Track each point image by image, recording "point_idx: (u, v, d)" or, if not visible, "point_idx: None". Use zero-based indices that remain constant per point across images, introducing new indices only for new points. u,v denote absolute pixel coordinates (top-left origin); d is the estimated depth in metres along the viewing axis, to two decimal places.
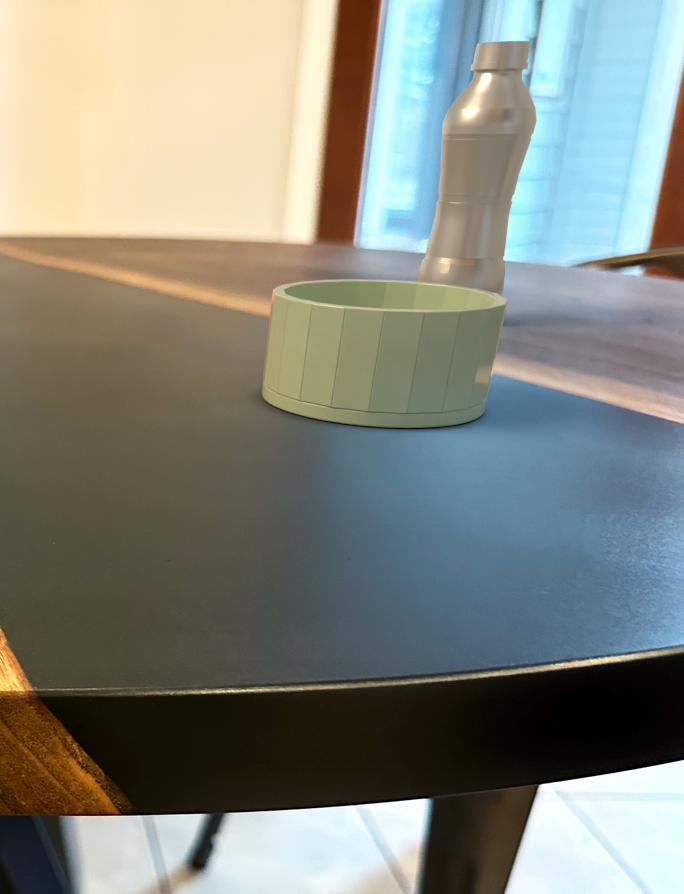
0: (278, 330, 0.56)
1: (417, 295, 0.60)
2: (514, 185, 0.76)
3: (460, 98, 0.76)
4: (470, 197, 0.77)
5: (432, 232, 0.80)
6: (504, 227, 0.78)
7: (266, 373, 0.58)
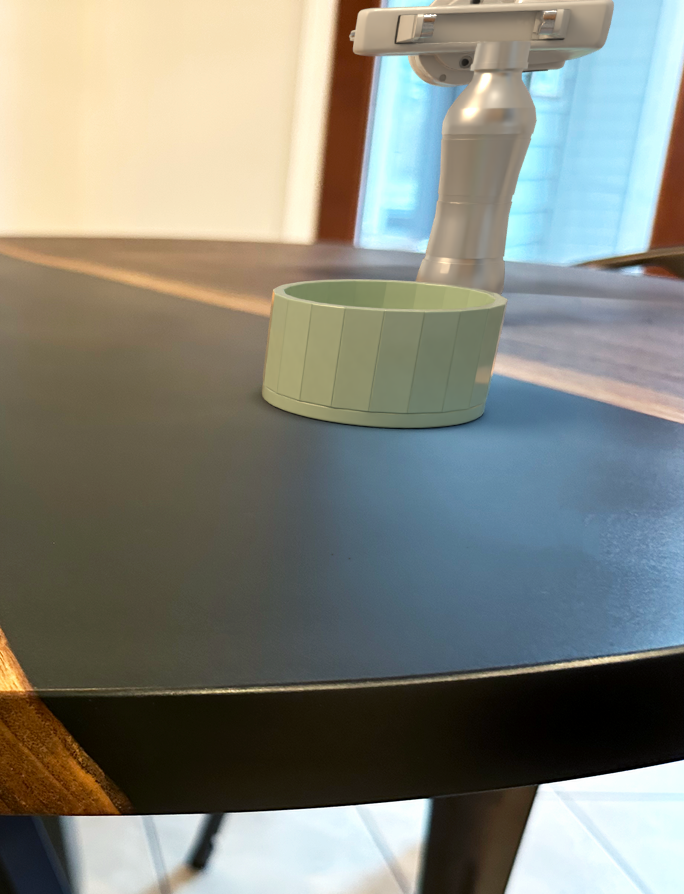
0: (278, 330, 0.56)
1: (417, 295, 0.60)
2: (514, 185, 0.76)
3: (460, 98, 0.76)
4: (470, 197, 0.77)
5: (432, 232, 0.80)
6: (504, 227, 0.78)
7: (266, 373, 0.58)
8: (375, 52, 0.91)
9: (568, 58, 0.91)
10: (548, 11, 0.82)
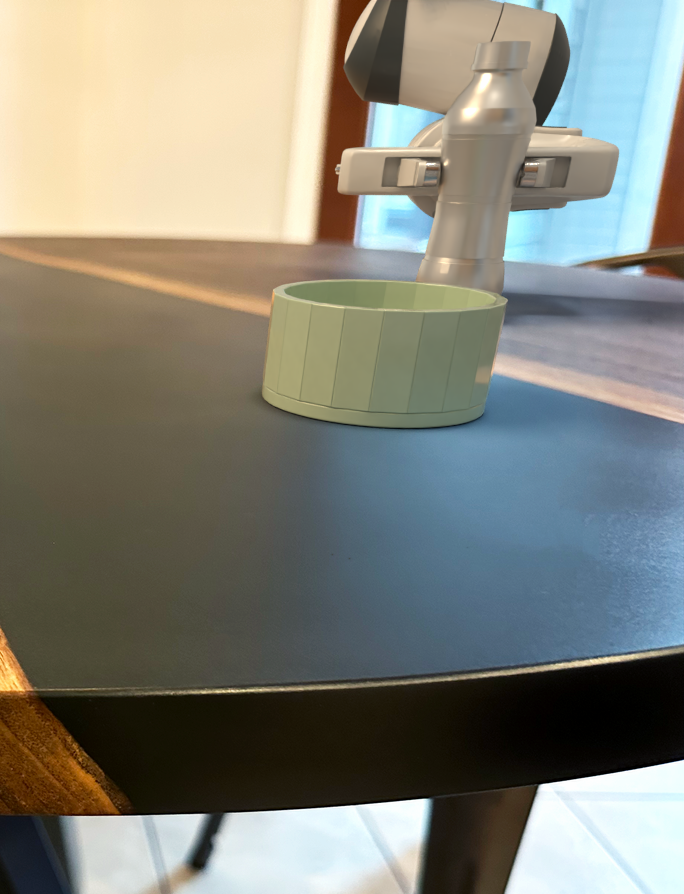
0: (278, 330, 0.56)
1: (417, 295, 0.60)
2: (514, 185, 0.76)
3: (460, 98, 0.76)
4: (470, 197, 0.77)
5: (432, 232, 0.80)
6: (504, 227, 0.78)
7: (266, 373, 0.58)
8: (361, 194, 0.85)
9: (570, 200, 0.84)
10: (529, 164, 0.76)
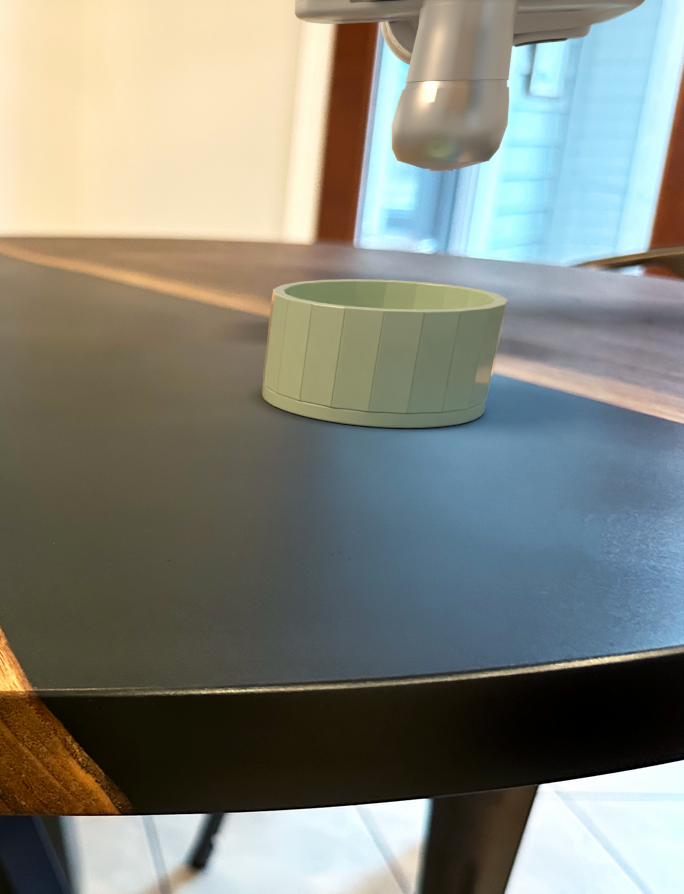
0: (278, 330, 0.56)
1: (417, 295, 0.60)
2: None
3: None
4: None
5: (414, 51, 0.61)
6: (508, 37, 0.59)
7: (266, 373, 0.58)
8: (324, 15, 0.66)
9: (595, 21, 0.65)
10: None
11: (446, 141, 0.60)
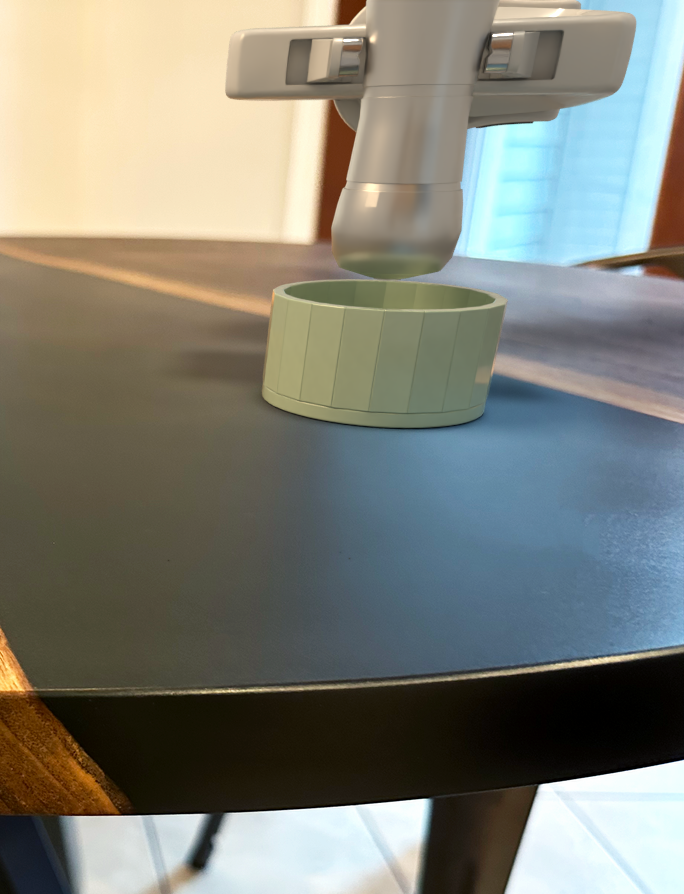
0: (278, 330, 0.56)
1: (417, 295, 0.60)
2: (476, 69, 0.50)
3: None
4: (408, 87, 0.50)
5: (355, 146, 0.53)
6: (461, 135, 0.51)
7: (266, 373, 0.58)
8: (258, 97, 0.58)
9: (563, 106, 0.58)
10: (499, 35, 0.49)
11: (391, 252, 0.52)
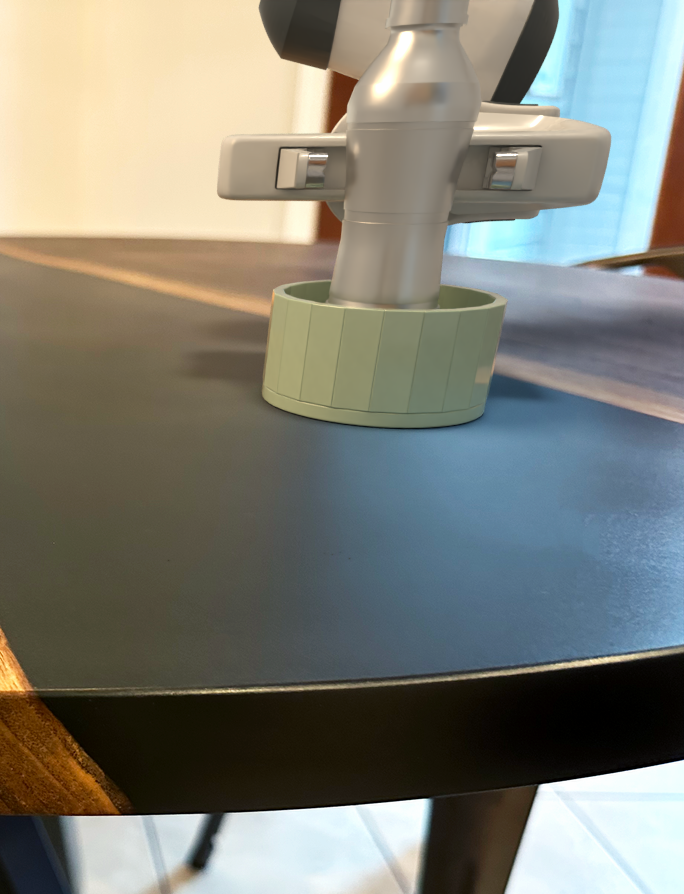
0: (278, 330, 0.56)
1: None
2: (450, 197, 0.52)
3: (370, 69, 0.51)
4: (386, 215, 0.52)
5: (336, 264, 0.56)
6: (437, 258, 0.53)
7: (266, 373, 0.58)
8: (248, 199, 0.60)
9: (543, 208, 0.60)
10: (503, 155, 0.51)
11: None
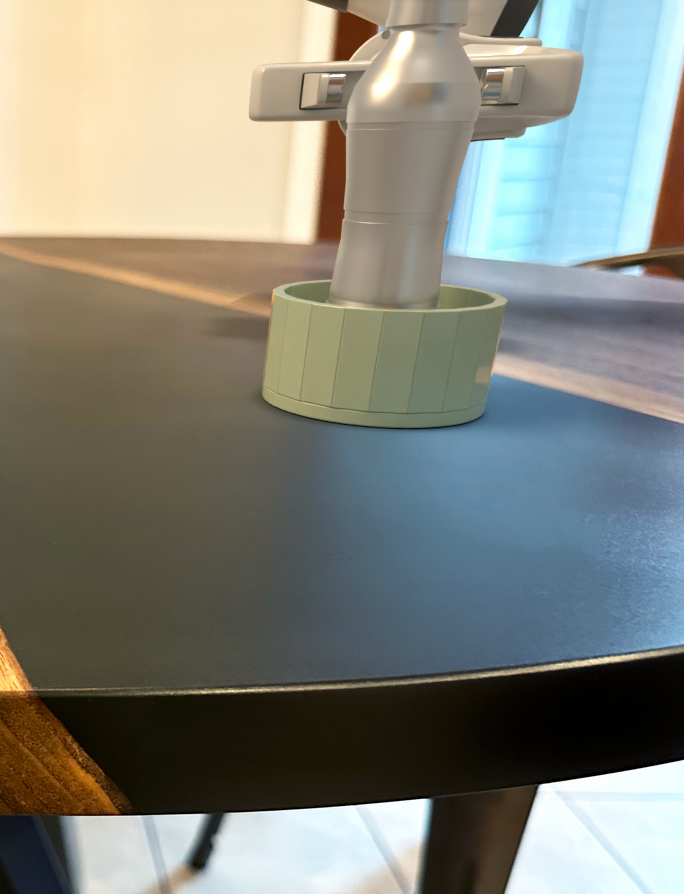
0: (278, 330, 0.56)
1: None
2: (450, 197, 0.52)
3: (370, 69, 0.51)
4: (386, 215, 0.52)
5: (336, 264, 0.56)
6: (437, 258, 0.53)
7: (266, 373, 0.58)
8: (276, 120, 0.70)
9: (528, 125, 0.70)
10: (492, 70, 0.61)
11: None
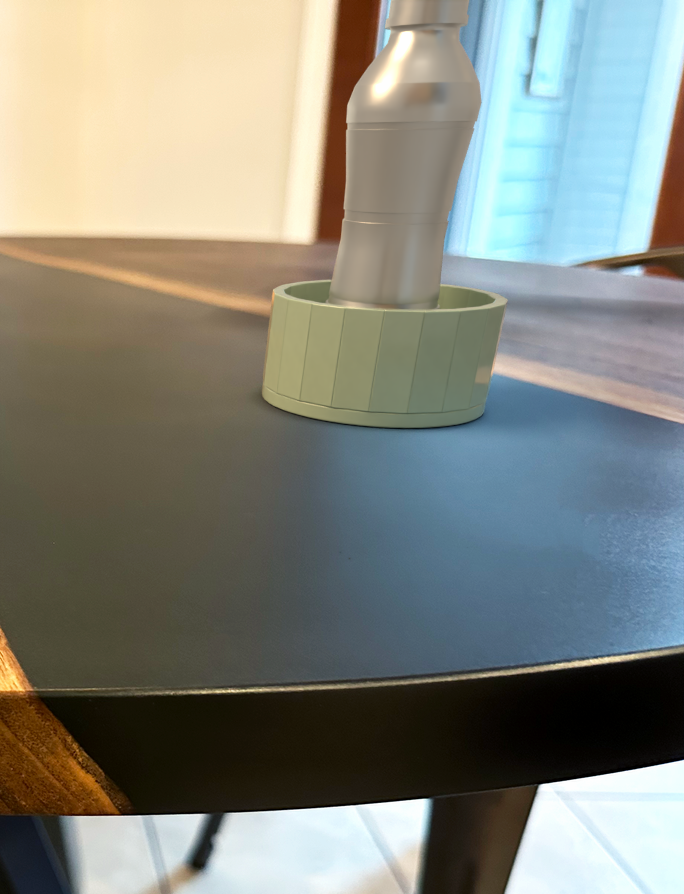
0: (278, 330, 0.56)
1: None
2: (450, 197, 0.52)
3: (370, 69, 0.51)
4: (386, 215, 0.52)
5: (336, 264, 0.56)
6: (437, 258, 0.53)
7: (266, 373, 0.58)
8: None
9: None
10: None
11: None
